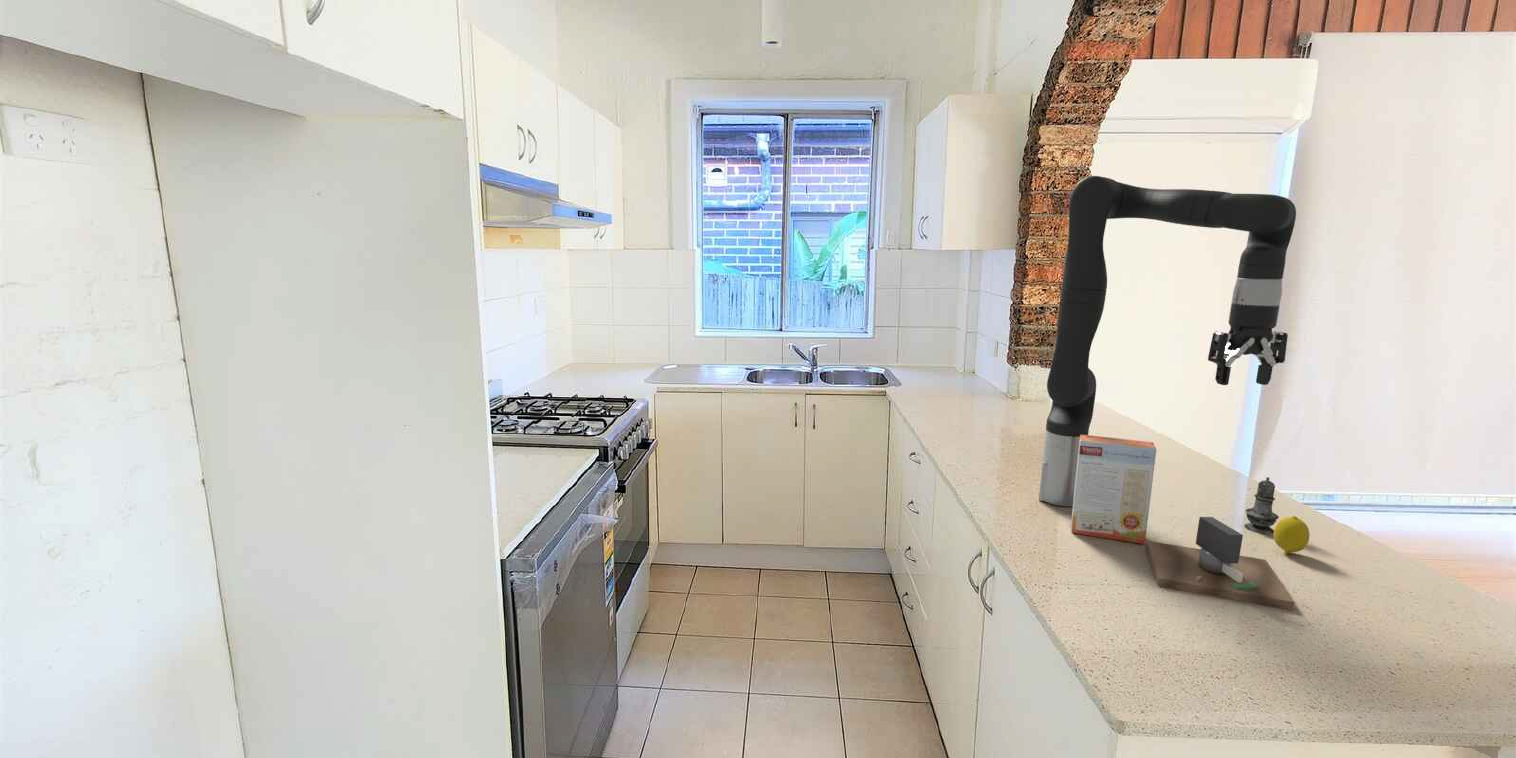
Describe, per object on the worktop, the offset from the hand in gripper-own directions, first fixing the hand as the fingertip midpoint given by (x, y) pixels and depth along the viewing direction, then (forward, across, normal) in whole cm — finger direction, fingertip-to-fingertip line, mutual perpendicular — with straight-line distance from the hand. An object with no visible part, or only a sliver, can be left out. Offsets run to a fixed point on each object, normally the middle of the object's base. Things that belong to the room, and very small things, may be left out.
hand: (1242, 384), depth 131 cm
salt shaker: (+34, +15, +6) cm, 38 cm away
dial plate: (+34, -12, -13) cm, 38 cm away
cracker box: (+34, -20, +6) cm, 40 cm away
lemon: (+34, +11, -6) cm, 36 cm away
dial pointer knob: (+32, -12, -14) cm, 37 cm away
